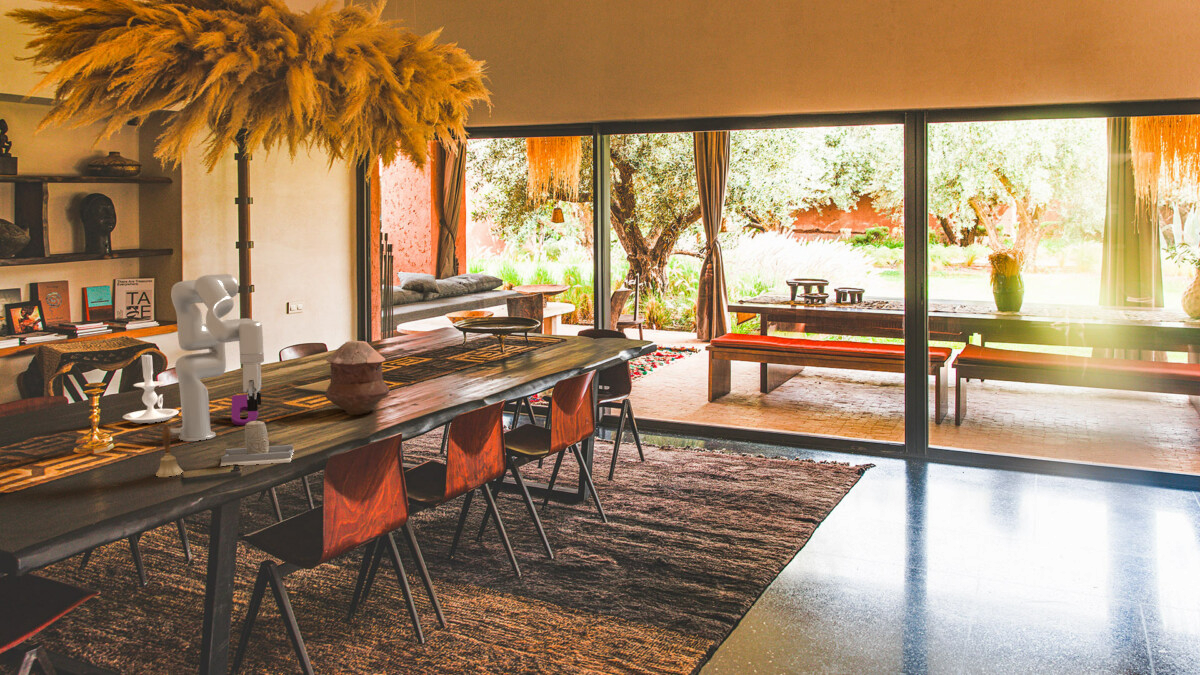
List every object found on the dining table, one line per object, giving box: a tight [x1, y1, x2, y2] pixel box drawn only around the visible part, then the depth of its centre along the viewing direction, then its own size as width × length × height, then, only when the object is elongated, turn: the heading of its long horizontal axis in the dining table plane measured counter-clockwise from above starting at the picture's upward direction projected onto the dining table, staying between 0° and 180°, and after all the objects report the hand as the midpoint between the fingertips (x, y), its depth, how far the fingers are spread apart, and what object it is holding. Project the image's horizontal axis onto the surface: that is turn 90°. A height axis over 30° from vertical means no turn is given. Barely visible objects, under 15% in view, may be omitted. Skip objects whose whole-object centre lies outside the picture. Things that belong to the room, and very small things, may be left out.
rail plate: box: [220, 444, 295, 467], centre depth 319 cm, size 22×14×3 cm, turn 103°
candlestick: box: [122, 353, 180, 424], centre depth 379 cm, size 21×25×28 cm
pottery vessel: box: [324, 340, 390, 415], centre depth 391 cm, size 26×26×30 cm
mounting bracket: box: [230, 394, 259, 426], centre depth 379 cm, size 9×8×18 cm
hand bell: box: [155, 424, 184, 478], centre depth 301 cm, size 8×8×16 cm
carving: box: [244, 420, 270, 454], centre depth 318 cm, size 6×8×12 cm
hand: (254, 407), depth 317 cm, fingers open, 9 cm apart
